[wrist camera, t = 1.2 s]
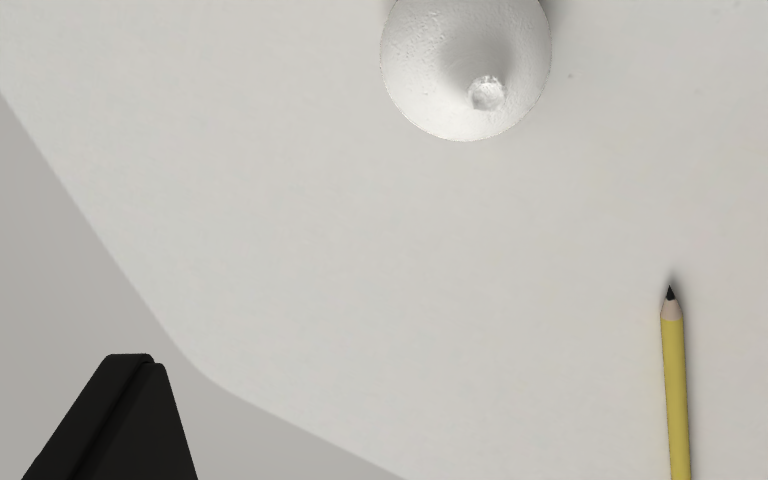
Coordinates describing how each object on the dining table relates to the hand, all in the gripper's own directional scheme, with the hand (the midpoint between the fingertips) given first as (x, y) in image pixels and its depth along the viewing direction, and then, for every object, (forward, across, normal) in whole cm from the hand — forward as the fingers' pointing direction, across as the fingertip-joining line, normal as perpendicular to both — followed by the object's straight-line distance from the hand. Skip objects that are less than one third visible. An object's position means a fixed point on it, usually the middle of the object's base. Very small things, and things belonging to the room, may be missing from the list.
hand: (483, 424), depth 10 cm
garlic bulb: (+20, 0, -1) cm, 20 cm away
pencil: (+20, -10, +17) cm, 28 cm away
